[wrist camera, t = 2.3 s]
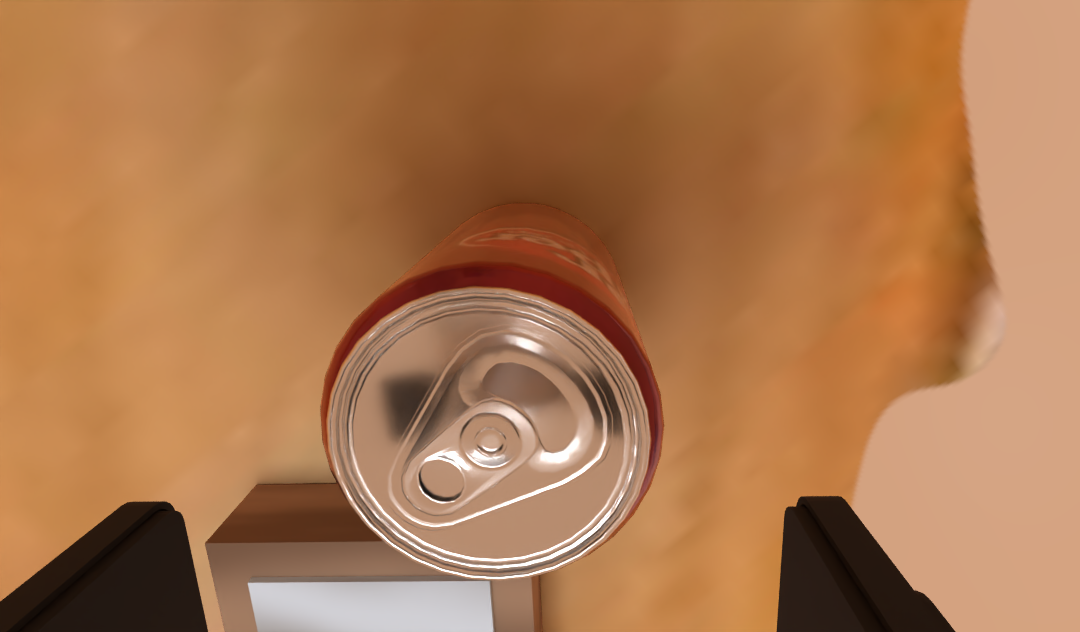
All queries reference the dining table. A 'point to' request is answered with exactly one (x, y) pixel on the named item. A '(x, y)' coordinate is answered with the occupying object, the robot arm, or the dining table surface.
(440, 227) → the dining table surface
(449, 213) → the dining table surface
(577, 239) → the soda can
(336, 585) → the pedestal
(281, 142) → the dining table surface
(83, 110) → the dining table surface
